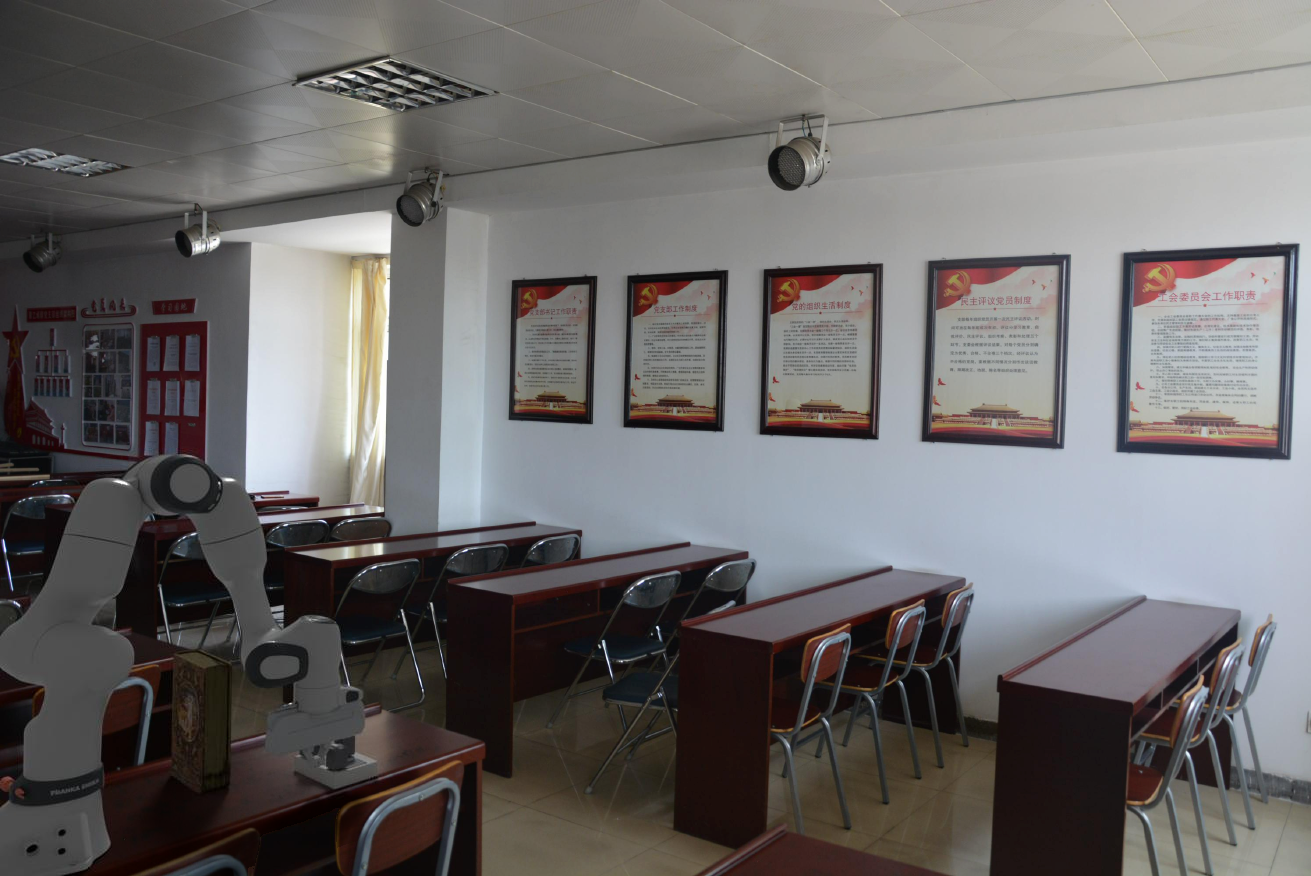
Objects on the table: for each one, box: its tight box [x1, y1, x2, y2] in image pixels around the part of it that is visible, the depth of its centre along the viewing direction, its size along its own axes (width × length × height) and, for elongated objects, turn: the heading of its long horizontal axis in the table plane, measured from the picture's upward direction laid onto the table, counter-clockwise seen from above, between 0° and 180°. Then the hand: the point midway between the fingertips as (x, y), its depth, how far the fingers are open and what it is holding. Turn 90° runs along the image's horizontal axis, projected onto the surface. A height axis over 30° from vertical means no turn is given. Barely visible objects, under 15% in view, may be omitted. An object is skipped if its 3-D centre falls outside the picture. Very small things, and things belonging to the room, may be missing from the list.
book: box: [170, 649, 233, 795], centre depth 192 cm, size 16×6×25 cm, turn 48°
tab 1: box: [298, 745, 321, 758], centre depth 199 cm, size 3×3×4 cm
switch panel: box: [293, 751, 379, 790], centre depth 198 cm, size 10×15×3 cm, turn 51°
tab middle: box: [333, 735, 356, 756], centre depth 200 cm, size 3×3×4 cm
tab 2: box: [326, 743, 348, 770], centre depth 193 cm, size 3×3×4 cm
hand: (315, 765), depth 189 cm, fingers closed
